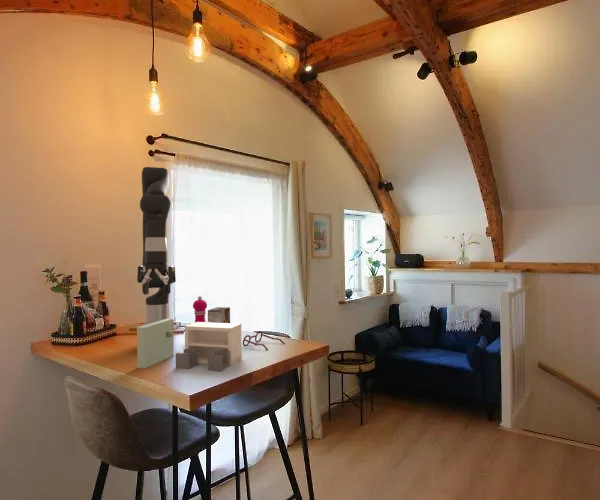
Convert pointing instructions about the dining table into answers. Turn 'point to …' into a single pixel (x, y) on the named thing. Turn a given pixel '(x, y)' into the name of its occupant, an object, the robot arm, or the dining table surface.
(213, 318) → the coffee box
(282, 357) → the dining table surface
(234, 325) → the cabinet
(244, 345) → the glasses
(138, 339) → the door
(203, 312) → the pepper mill
